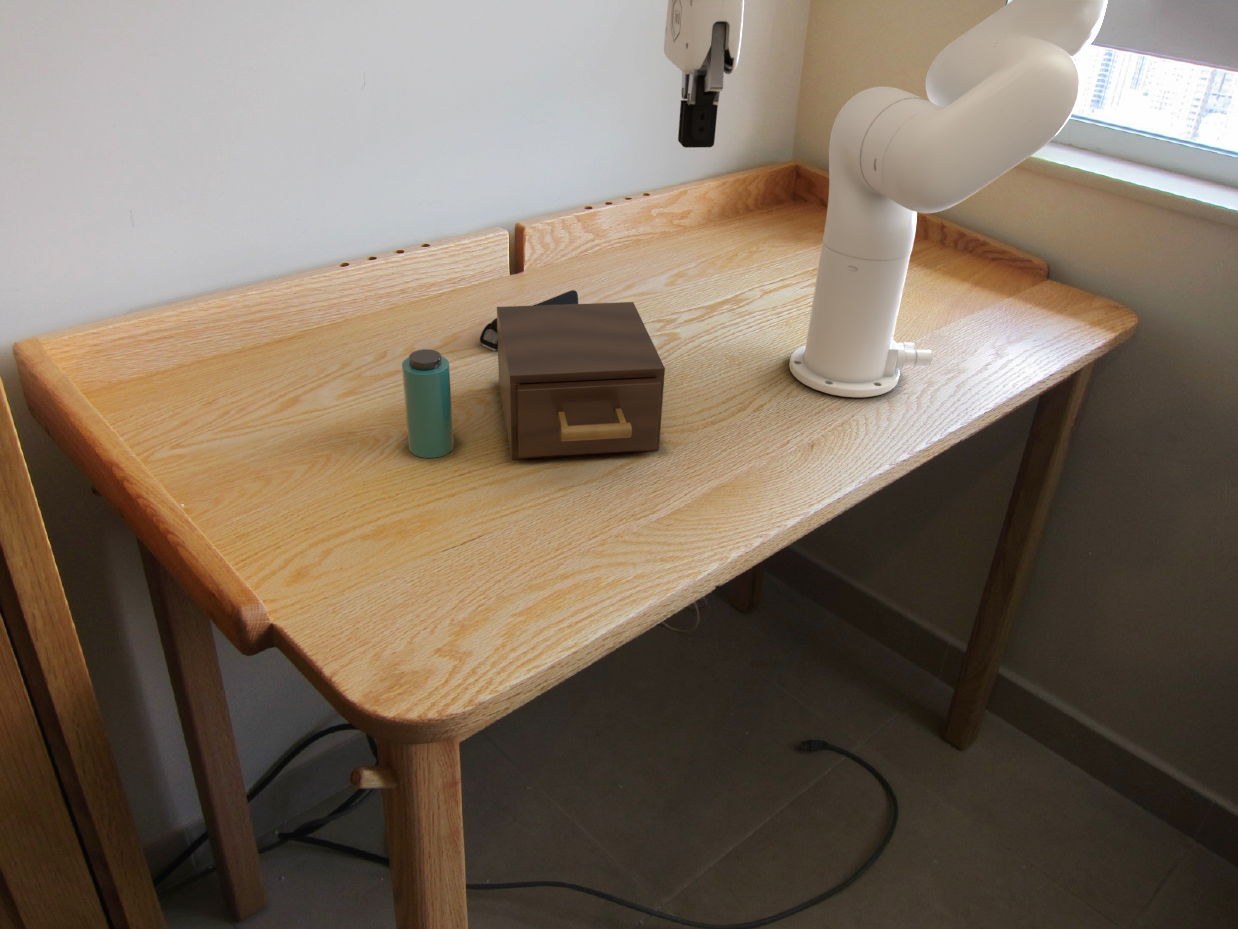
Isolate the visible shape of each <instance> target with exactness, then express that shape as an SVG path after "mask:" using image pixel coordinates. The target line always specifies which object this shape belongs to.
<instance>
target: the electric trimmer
mask: <svg viewBox="0 0 1238 929" xmlns="http://www.w3.org/2000/svg"><path fill="white" fill-rule="evenodd" d="M564 304H579V294H578V291H577V290H575V289H571V290H568V291H566V292H564V293H561V294H559V295H555V296H554V297H551V298H549V299H546V300H543V301H541V302H538V303H536V304H532V306H535V305H564ZM479 342H480V343H481V346H483V347H485V348H486V349H489V350H492V351H498V334H497V317H496V318H494V319H493V320H492V321H491V322H489V323H487V324H486V325H485V327H484V328H483V330H482V331H481V334H480V337H479Z"/></svg>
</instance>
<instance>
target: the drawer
mask: <svg viewBox="0 0 1238 929" xmlns="http://www.w3.org/2000/svg"><path fill="white" fill-rule="evenodd" d="M660 389H661V383H660V381H659V378H647V377H643V378H622V379H602V380H581V381H561V382H540V383H520V385H517V439H518V456H519V458H521V457H537V456H553V455H570V454H586V453H602V452H618V451H634V450H650V449H656V444H657V430H658V417H659V403H660Z"/></svg>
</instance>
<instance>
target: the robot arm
mask: <svg viewBox="0 0 1238 929" xmlns="http://www.w3.org/2000/svg"><path fill="white" fill-rule="evenodd" d="M1108 1H1109V0H1010V1H1009V2H1008V3H1006V4H1005V5H1004V6H1002V7H1001V8H999V9H998V10H996V11H995V12H993V13H992V14H991V15H989V16H987V17H986V18H985V19H983V20H982V21H981V22H979V23H978V24H976V25H974V26H973V27H972V28H970V29H969V30H968V31H965V33H963V34H961V35H960V36H958V37H957V38H956V39H954V40H953V41H951V42H950V43H949V44H947V45H946V46H945V47H944V48H943V49H942V50H941V51H940V52H939V53H938V54H937V55H936V56H935V58H934V59H933V60H932V62H931V64H930V66H929V67H928V70H927V73H926V76H925V82H924V83H925V84H924V86H925V92H926V96H927V98H928V99H926V98H924V97H922V96H919V95H916V94H914V93H912V92H909V91H907V90H905V89H901V88H897V87H894V86H874V87H869V88H866V89H864V90H861V91H859V92H858V93H856V94H855V95H853V96H852V97H851V98H849V99H848V100H847V101H846V103H844V105H843V106H842V107H841V108H840V110H839V112H838V113H837V115H836V117H835V119H834V122H833V125H832V129H831V131H830V138H829V146H828V200H827V210H826V218H825V223H824V231H823V235H822V236H823V237H822V240H821V246H820V247H821V248H820V254H819V260H818V266H817V272H816V278H815V285H814V290H813V291H814V292H813V296H812V304H811V310H810V316H809V323H808V329H807V335H806V342H805V344H804V345H801V346H800V347H797V348H796V349H795V350H794V351H793V352H792V353H791V355H790V357H789V364H788V367H789V370H790V373H791V374H792V375H793V376H794V378H796V380H798V381H799V382H800V383H802V384H803V385H805V386H806V387H808V388H810V389H813V390H815V391H819V392H822V393H824V394H829V395H832V396H838V397H844V398H870V397H876V396H881V395H884V394H886V393H888V392H890V391H892V390H893V389H895V387H896V386H897V385H898V382H899V379H900V376H901V375H900V369H903V367H904V366H913V367H919V368H921V367H923V368H929V367H931V366H932V362H933V352H932V350H930V349H916V343H915V342H908V341H907V342H905V341H904V342H896V341H895V339H894V335H895V331H896V327H897V326H896V325H897V321H898V315H899V311H900V306H901V302H902V299H903V298H902V297H903V292H904V288H905V283H906V278H907V273H908V268H909V264H910V261H911V260H910V259H911V254H912V252H913V247H914V242H915V237H916V231H917V221H918V220H917V219H918V217H917V216H918V213H919V214H934V213H938V212H943V211H947V210H948V209H951V208H953V207H955V206H957V205H959V204H960V203H963V202H964V201H966V200H967V199H968V198H970V197H972V196H974V195H975V194H976V193H978V192H980V191H981V190H982V189H984V188H985V187H987V186H988V185H990V184H992V183H993V182H994V181H996V180H998V179H999V178H1001V177H1002V176H1003V175H1004V174H1006V173H1008V172H1010V170H1012V169H1014V168H1015V167H1016V166H1019V164H1021V163H1022V162H1024V161H1025V160H1027V159H1028V158H1029V157H1031V156H1033V155H1034V154H1036V153H1037V152H1038V151H1040V150H1041V149H1042V148H1044V147H1045V146H1046V145H1047V144H1049V143H1050V142H1051V141H1052V140H1053V139H1054V138H1055V137H1056V136H1057V135H1058V134H1059V133H1060V132H1061V131H1062V130H1063V128H1064V127H1065V125H1066V124H1067V122H1068V121H1069V119H1070V118H1071V116H1072V114H1073V112H1074V110H1075V108H1076V105H1077V104H1078V101H1079V97H1080V92H1081V75H1080V74H1081V73H1080V70H1079V68H1078V66H1077V63H1076V61H1075V59H1077V58H1078V57H1079V56H1080V55H1081V54H1082V53H1083V52H1084V51H1085V50H1086V49H1087V48H1088V47H1089V46H1090V45H1091V44H1092V42H1093V41H1094V40H1095V38H1096V36H1097V35H1098V33H1099V31H1100V28H1101V26H1102V23H1103V20H1104V17H1105V13H1106V9H1107V4H1108ZM666 9H667V11H666V19H665V28H664V29H665V31H664V41H663V52H664V55H665V57H666V58H667V59H668V60H669V61H670V62H671V63H672V64H673V65H674V66H675V67H677V68H678V70H680V71H681V94H680V95H681V99H680V106H679V121H678V134H677V141H678V143H679V144H680V145H681V146H682V148H688V149H689V148H712V147H714V145H715V140H716V128H717V119H718V118H717V116H718V106H719V101H720V94H721V92H722V91H723V90H724V78H725V77H724V74H726V75H731V74H732V73H734V72H735V70H736V69H738V64H739V60H740V52H741V46H742V38H743V37H742V35H743V24H744V11H745V10H744V9H745V0H667V8H666Z"/></svg>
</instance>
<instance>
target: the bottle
mask: <svg viewBox="0 0 1238 929" xmlns="http://www.w3.org/2000/svg"><path fill="white" fill-rule="evenodd" d="M401 371H402V372H401V374H402V386H403V394H404V395H403V396H404V408H405V417H406V430H407V440H408V450H409V451H410V453H411V454H412V455H414V456H416V457H420V458H423V459H436V458H441V457H443V456H447V455H448V454H449V453H451V452H452V451H453V449H454V448H455V440H454V423H453V422H454V421H453V405H452V386H451V374H450V372H451V371H450V361H449V359H447V358H446V357H445V356H443V355H442V354H441V353H440V352H439V351H438V350H435V349H430V348H424V349H417V350H413V351H412V352H411V353H409V355H408V357H406V358H405V359H404V360H403V361H402V363H401Z"/></svg>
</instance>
